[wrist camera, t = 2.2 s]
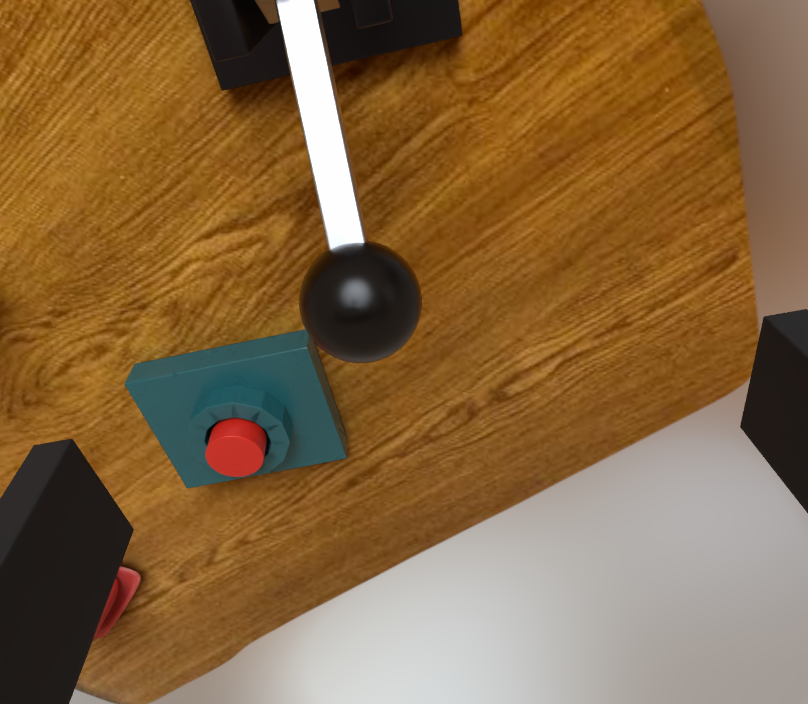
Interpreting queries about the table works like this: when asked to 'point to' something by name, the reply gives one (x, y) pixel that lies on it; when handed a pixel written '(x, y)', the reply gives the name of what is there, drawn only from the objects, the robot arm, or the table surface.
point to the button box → (241, 403)
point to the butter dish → (118, 599)
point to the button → (236, 447)
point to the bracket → (344, 28)
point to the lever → (341, 211)
